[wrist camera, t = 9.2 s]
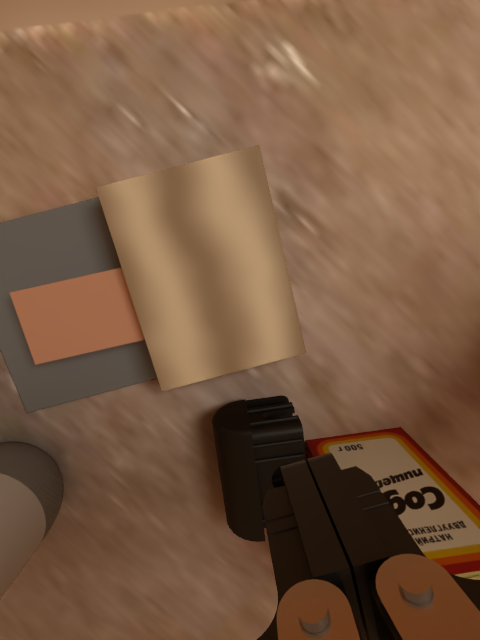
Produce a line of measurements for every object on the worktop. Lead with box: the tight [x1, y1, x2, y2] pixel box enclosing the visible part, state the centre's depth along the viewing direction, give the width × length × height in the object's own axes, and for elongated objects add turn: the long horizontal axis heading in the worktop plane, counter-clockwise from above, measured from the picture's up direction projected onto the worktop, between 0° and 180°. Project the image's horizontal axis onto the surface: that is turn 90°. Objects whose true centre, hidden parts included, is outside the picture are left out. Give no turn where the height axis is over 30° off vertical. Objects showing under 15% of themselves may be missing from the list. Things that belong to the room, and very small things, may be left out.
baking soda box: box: [306, 427, 480, 640], centre depth 29 cm, size 10×6×16 cm
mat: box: [0, 198, 157, 413], centre depth 31 cm, size 12×16×1 cm
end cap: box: [212, 396, 306, 542], centre depth 32 cm, size 10×7×7 cm
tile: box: [10, 267, 145, 365], centre depth 30 cm, size 9×6×2 cm, turn 102°
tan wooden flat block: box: [96, 145, 306, 391], centre depth 30 cm, size 12×16×4 cm
